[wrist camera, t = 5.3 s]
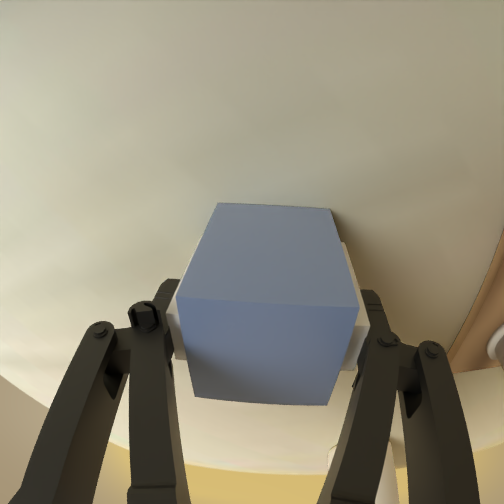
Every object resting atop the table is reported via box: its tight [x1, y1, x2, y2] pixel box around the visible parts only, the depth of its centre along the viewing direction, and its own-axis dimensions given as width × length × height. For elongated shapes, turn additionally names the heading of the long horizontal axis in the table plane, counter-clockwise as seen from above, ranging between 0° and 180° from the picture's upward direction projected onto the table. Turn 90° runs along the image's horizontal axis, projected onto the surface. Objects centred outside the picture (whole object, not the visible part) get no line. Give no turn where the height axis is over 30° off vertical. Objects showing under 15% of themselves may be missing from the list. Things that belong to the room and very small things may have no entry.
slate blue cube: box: [175, 203, 360, 406], centre depth 14 cm, size 6×6×8 cm
